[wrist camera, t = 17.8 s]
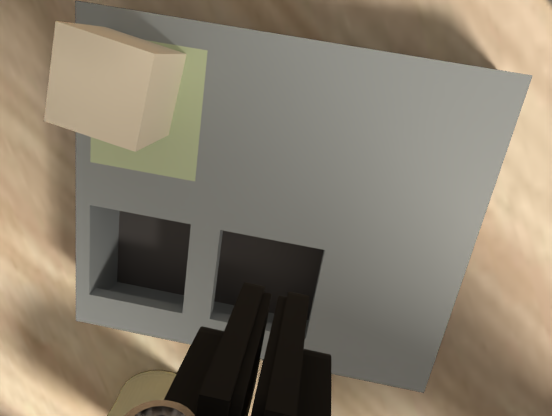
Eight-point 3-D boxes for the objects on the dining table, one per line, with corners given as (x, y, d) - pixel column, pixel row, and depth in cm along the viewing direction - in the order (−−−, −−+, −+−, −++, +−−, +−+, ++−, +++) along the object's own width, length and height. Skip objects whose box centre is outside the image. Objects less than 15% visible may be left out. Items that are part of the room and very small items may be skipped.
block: (186, 53, 26) (154, 53, 21) (168, 135, 27) (135, 151, 23) (105, 27, 26) (55, 20, 21) (92, 109, 28) (43, 121, 23)
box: (499, 72, 29) (532, 75, 24) (411, 348, 36) (423, 392, 32) (115, 8, 30) (75, 0, 26) (107, 287, 38) (75, 320, 33)
